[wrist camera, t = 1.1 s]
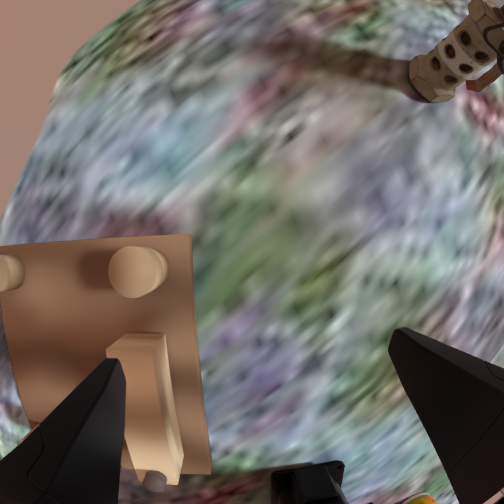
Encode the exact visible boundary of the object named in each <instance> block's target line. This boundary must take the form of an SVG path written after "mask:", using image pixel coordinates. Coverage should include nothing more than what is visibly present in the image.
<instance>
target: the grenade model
mask: <svg viewBox="0 0 504 504" xmlns="http://www.w3.org/2000/svg"><path fill="white" fill-rule="evenodd" d="M468 10H469V15H468V16H467V17H466V18H465V19H464V20H463V22H462V23H461V24H460V25H458V26H457V27H456V28H454V29H453V30H452V31H451V32H450V33H449V35H448V36H447V37H446V38H444V39H443V40H442V41H441V42H440V43H439V44H438V45H437V46H436V47H435V48H434V49H433V50H432V51H430V52H429V53H428V54H427V55H419V56H416V57H415V58H414V59H413V60H412V61H411V62H410V63H409V79H410V82H411V83H412V85H413V86H414V88H415V89H416V90H417V91H418V92H419V93H420V94H421V95H422V96H423V97H424V98H425V99H427V100H428V101H429V102H433V103H438V102H447V101H448V100H450V99H451V98H453V97H454V95H455V88H456V87H457V86H459V85H460V84H461V83H463V82H464V81H466V86H467V90H472V91H477V92H480V91H481V90H482V89H484V88H485V87H486V86H487V85H489V84H490V83H492V82H494V81H495V80H496V79H497V78H498V77H499V76H500V75H502V74H504V5H503V6H502V7H501V8H500V7H498V6H497V5H496V4H495V3H494V2H492V1H491V0H472V1H471V2H470V3H469V4H468ZM496 59H497V63H496V64H495V65H494V66H493V67H492V68H491V69H490V70H489V71H487V72H486V73H484V74H483V75H482V76H481V77H480V78H478V79H477V80H467V79H469V78H470V77H471V76H473V75H474V74H475V73H477V72H478V71H480V70H481V69H483V68H484V67H486V66H487V65H489V64H490V63H491V62H493V61H494V60H496Z"/></svg>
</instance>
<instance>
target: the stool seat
mask: <svg viewBox="0 0 504 504" xmlns="http://www.w3.org/2000/svg"><path fill="white" fill-rule="evenodd" d="M0 302H1V310H2V318H3V324H4V330H5V336H6V341H7V346H8V351H9V356H10V360H11V364H12V369H13V372H14V376H15V380H16V384H17V387H18V391H19V394H20V397H21V400H22V404H23V407H24V410H25V413H26V415H27V418H28V421H29V424H30V426H31V429H32V430H31V431H30V432H29V433H28V434H27V435H26V436H25V437H24V438H23V439H22V440H21V441H20V442H19V443H18V444H17V446H18V445H19V444H20V443H21V442H22V441H23V440H24V439H25V438H26V437H27V436H28V435H29V434H30V433H31V432H32V431H33V430H34V429H35V428H36V427H37V426H39V424H40V423H41V422H42V421H43V420H44V419H45V418H46V417H47V416H48V415H49V414H50V413H51V412H52V411H53V410H54V409H55V408H56V407H57V406H58V405H59V404H60V403H61V402H62V401H63V400H64V399H65V398H66V397H67V396H68V395H69V394H70V393H71V392H72V391H73V390H74V389H75V388H76V387H77V386H78V385H79V384H80V383H81V382H82V381H83V380H84V379H85V378H86V377H87V376H88V375H89V374H90V373H91V372H92V371H93V370H94V369H95V368H96V367H97V366H98V365H99V364H100V363H101V362H102V361H103V360H104V359H105V358H107V355H106V349H107V348H108V347H109V346H111V345H112V344H113V343H115V342H116V341H117V340H118V339H120V338H121V337H122V336H123V335H125V334H126V333H146V334H165V335H166V344H167V353H168V361H169V369H170V377H171V384H172V391H173V397H174V404H175V410H176V416H177V422H178V427H179V433H180V438H181V443H182V448H183V453H184V457H183V462H182V467H181V472H180V474H211V466H212V457H211V450H210V444H209V437H208V429H207V422H206V414H205V406H204V397H203V389H202V379H201V370H200V359H199V348H198V337H197V324H196V310H195V295H194V278H193V257H192V236H191V235H189V234H175V235H156V236H138V237H121V238H104V239H89V240H74V241H60V242H47V243H34V244H21V245H9V246H0ZM122 468H127V469H135V468H134V465H133V462H132V459H131V456H130V453H129V450H128V446H127V443H126V440H125V436H124V440H123V448H122V457H121V467H120V472H121V469H122Z"/></svg>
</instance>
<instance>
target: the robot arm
mask: <svg viewBox="0 0 504 504" xmlns="http://www.w3.org/2000/svg"><path fill="white" fill-rule="evenodd" d="M388 352H389V355H390V358H391V360H392V362H393V365H394V367H395V369H396V372H397V374H398V376H399V379H400V381H401V383H402V386H403V388H404V390H405V392H406V394H407V395H408V397H409V399H410V401H411V403H412V405H413V407H414V409H415V410H416V412H417V414H418V416H419V418H420V420H421V422H422V424H423V426H424V428H425V430H426V432H427V434H428V436H429V438H430V440H431V442H432V444H433V446H434V448H435V450H436V452H437V454H438V456H439V458H440V461H441V463H442V465H443V467H444V469H445V471H446V473H447V476H448V478H449V480H450V483H451V485H452V487H453V490H454V492H455V494H456V496H457V499H458V501H459V504H483V503H484V502H485V501H487V500H488V499H490V498H491V497H492V496H494V495H495V494H496V493H498V492H499V491H500V492H501V493H502V494H503V496H501V497H500V498H499V499H498V500H497V501H496V502H495V503H494V504H504V368H501V367H499V366H496V365H494V364H491V363H489V362H487V361H484V360H482V359H479V358H477V357H475V356H472V355H470V354H468V353H465V352H463V351H460V350H458V349H456V348H453V347H451V346H449V345H446V344H444V343H442V342H439V341H437V340H435V339H432V338H430V337H427V336H425V335H423V334H420V333H418V332H416V331H413V330H411V329H409V328H406V327H401V328H397V329H395V330H394V331H393V334H392V337H391V340H390V343H389V346H388ZM125 408H126V377H125V374H124V371H123V368H122V365H121V362H120V360H119V359H118V358H105V359H104V360H103V361H102V362H101V363H100V364H99V365H98V366H97V367H96V368H95V369H94V370H93V371H92V372H91V373H90V374H89V375H88V376H87V377H86V378H85V379H84V380H83V381H82V382H81V383H80V384H79V385H78V386H77V387H76V388H75V389H74V390H73V391H72V392H71V393H70V394H69V395H68V396H67V397H66V398H65V399H64V400H63V401H62V402H61V403H60V404H59V405H58V406H57V407H56V408H55V409H54V410H53V411H52V412H51V413H50V414H49V415H48V416H47V417H46V418H45V419H44V420H43V421H42V422H41V423H40V424H39V426H37V427H36V428H35V429H34V430H33V431H32V432H31V433H30V434H29V435H28V436H27V437H26V438H25V439H24V440H23V441H22V442H21V443H20V444H19V445H18V446H17V447H16V448H14V449H13V450H12V451H11V452H10V453H9V454H8V455H6V456H5V457H4V458H3V459H2V460H0V504H118V492H119V479H120V467H121V457H122V448H123V440H124V432H125ZM339 465H340V466H339ZM344 467H345V465H344V463H343V462H342V461H337V462H332V463H327V464H322V465H317V466H311V467H305V468H298V469H291V470H283V471H276V472H273V473H272V474H271V504H348V502H347V500H346V498H345V496H344V494H343V492H342V490H341V484H342V478H343V473H344ZM275 476H278V477H275ZM368 504H373V503H372V502H370V503H368Z"/></svg>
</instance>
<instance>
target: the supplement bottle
mask: <svg viewBox="0 0 504 504" xmlns="http://www.w3.org/2000/svg"><path fill="white" fill-rule="evenodd" d="M402 504H437V503H436V502H435V501H434V499H433V498H432V497H431V496H430V495H429V494H428V493H419V494H416V495H414V496H412V497H410V498H409V499H407V500H406V501H404V502H403V503H402Z"/></svg>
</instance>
